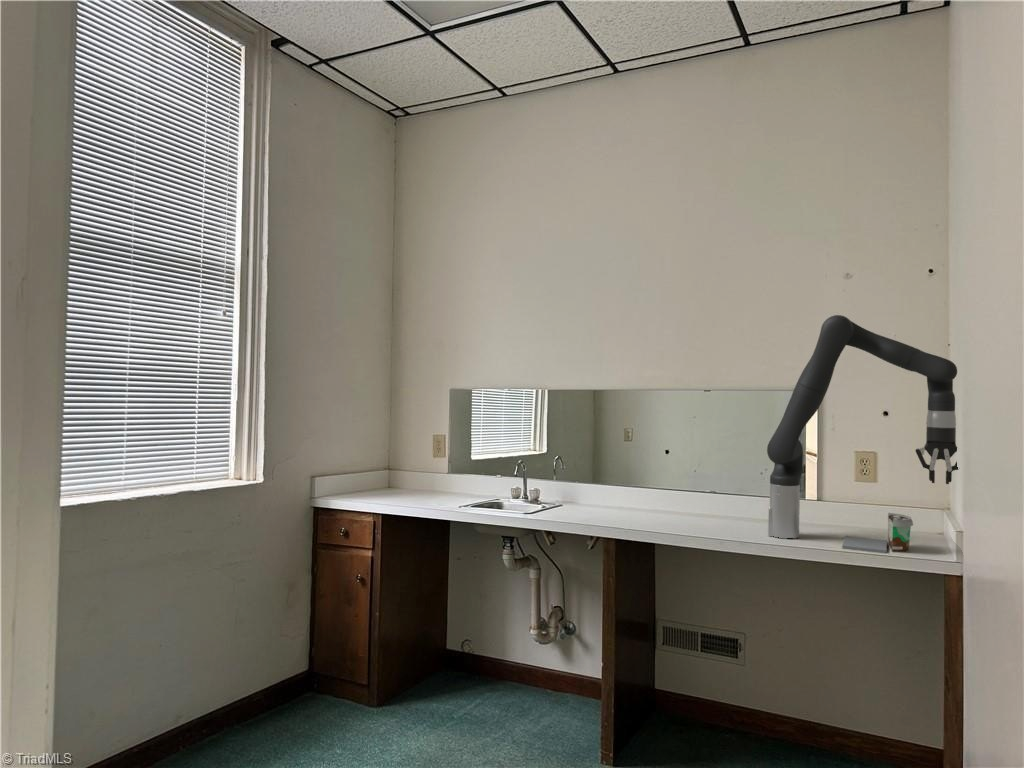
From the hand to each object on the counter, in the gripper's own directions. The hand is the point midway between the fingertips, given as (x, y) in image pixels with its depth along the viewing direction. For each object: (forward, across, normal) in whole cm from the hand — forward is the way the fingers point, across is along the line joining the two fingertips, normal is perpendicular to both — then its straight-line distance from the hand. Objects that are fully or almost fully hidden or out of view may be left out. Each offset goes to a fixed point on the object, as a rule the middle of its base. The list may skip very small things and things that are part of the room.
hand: (940, 483), depth 213 cm
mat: (+21, -20, 0) cm, 29 cm away
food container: (+21, -10, 0) cm, 24 cm away
